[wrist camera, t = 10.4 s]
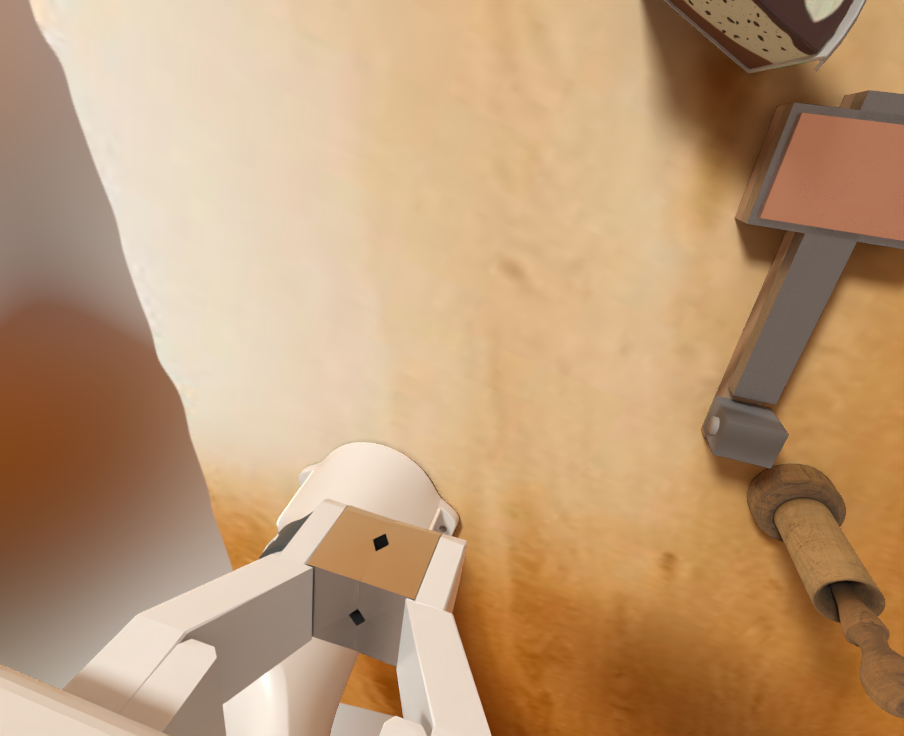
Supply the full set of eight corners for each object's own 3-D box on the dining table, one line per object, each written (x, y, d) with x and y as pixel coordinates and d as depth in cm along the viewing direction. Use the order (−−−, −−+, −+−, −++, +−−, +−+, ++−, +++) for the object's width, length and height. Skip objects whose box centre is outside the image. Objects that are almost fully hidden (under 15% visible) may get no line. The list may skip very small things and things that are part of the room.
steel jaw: (819, 406, 36) (830, 419, 34) (680, 376, 38) (684, 386, 36) (982, 107, 27) (1007, 104, 26) (792, 86, 29) (804, 82, 27)
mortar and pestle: (737, 472, 42) (825, 670, 26) (824, 455, 39) (981, 662, 23) (757, 531, 43) (850, 750, 28) (842, 518, 41) (998, 751, 25)
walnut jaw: (783, 448, 40) (809, 490, 35) (658, 419, 41) (666, 454, 37) (964, 109, 29) (1039, 101, 24) (783, 88, 30) (819, 77, 26)
